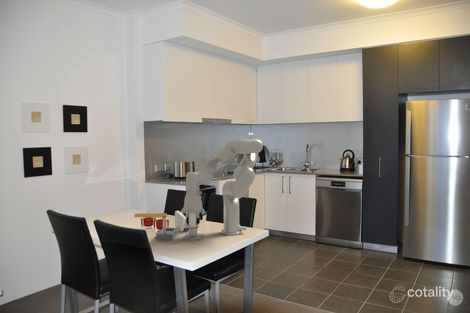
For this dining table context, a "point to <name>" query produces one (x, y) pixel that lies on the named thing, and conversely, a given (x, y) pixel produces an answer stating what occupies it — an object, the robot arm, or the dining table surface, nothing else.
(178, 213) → the cable organizer
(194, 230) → the plug
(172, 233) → the grey stand
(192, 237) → the mat
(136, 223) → the dining table surface
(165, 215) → the clip
